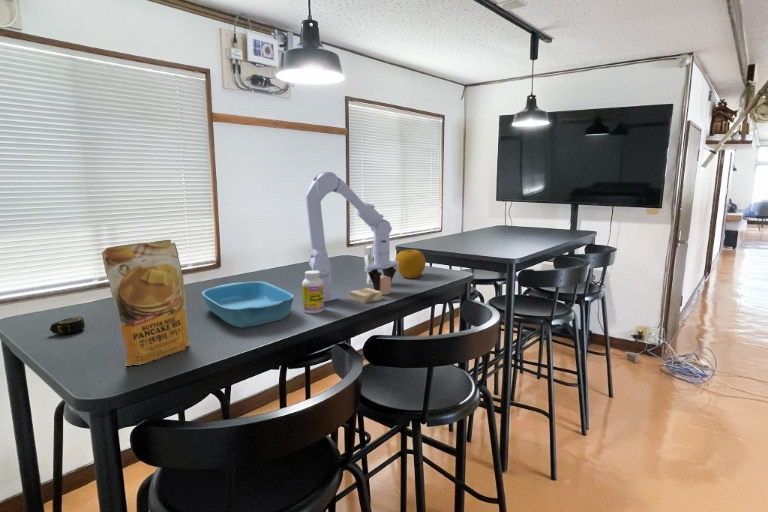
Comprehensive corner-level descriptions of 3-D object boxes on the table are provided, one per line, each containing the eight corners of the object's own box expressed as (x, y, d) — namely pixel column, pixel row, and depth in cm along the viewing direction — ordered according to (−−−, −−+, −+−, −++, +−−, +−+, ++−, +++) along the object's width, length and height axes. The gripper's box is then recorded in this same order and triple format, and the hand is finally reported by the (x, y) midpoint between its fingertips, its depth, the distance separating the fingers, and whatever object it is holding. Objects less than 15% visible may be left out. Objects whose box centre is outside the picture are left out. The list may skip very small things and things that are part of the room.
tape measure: (71, 327, 134) (69, 315, 134) (91, 328, 133) (89, 316, 132) (50, 336, 128) (48, 323, 127) (71, 337, 126) (69, 324, 126)
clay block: (381, 295, 163) (381, 279, 162) (373, 293, 167) (373, 277, 166) (390, 293, 166) (390, 277, 165) (383, 290, 170) (382, 275, 169)
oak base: (363, 304, 154) (363, 296, 153) (350, 299, 160) (349, 291, 160) (382, 300, 159) (381, 291, 158) (368, 295, 165) (368, 287, 165)
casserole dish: (195, 307, 153) (193, 287, 152) (259, 296, 166) (258, 277, 165) (232, 337, 124) (230, 312, 123) (306, 321, 137) (305, 298, 136)
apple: (390, 278, 189) (390, 251, 187) (401, 272, 201) (401, 246, 199) (420, 281, 184) (420, 253, 182) (429, 274, 196) (429, 248, 194)
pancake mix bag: (109, 366, 106) (93, 247, 101) (184, 340, 122) (173, 237, 117) (124, 372, 102) (109, 250, 97) (199, 345, 118) (189, 238, 113)
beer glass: (383, 281, 185) (382, 244, 182) (381, 285, 178) (380, 247, 175) (366, 281, 185) (365, 245, 183) (363, 285, 179) (362, 247, 176)
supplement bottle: (308, 315, 142) (306, 275, 140) (300, 310, 147) (298, 271, 145) (327, 311, 145) (326, 272, 143) (318, 306, 151) (317, 268, 149)
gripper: (372, 256, 156) (373, 294, 159) (404, 251, 165) (404, 287, 168) (360, 253, 162) (361, 290, 164) (391, 248, 171) (391, 284, 173)
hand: (382, 288), depth 166 cm, fingers closed on clay block, 4 cm apart
